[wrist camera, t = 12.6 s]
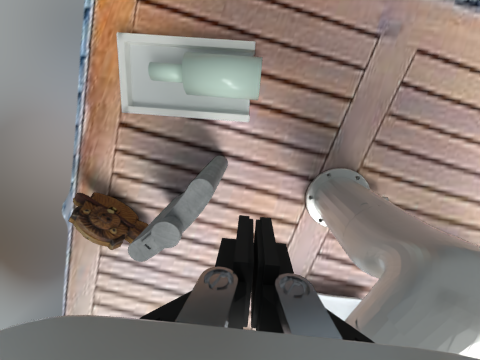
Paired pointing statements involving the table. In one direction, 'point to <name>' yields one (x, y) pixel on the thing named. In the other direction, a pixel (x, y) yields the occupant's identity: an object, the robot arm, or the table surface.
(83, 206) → the wooden carving
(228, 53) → the white rectangular tray
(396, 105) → the table surface
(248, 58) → the bottle
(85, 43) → the table surface
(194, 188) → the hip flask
